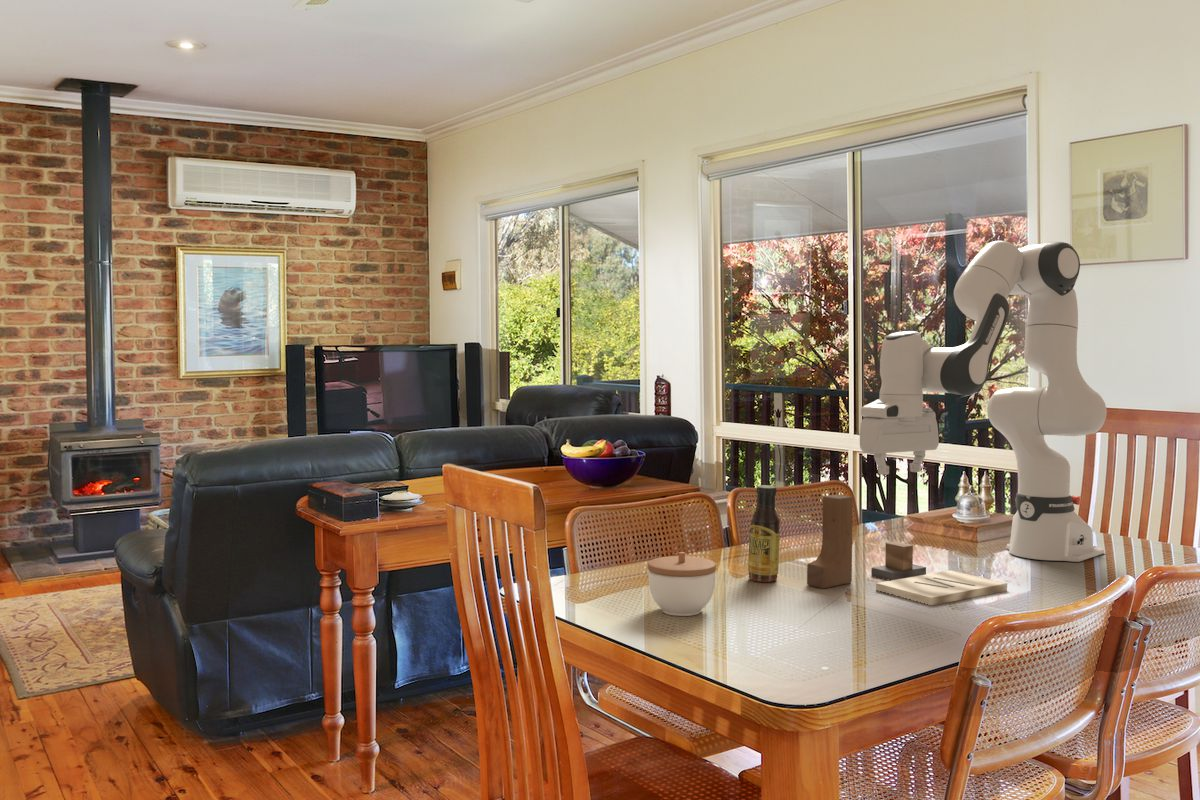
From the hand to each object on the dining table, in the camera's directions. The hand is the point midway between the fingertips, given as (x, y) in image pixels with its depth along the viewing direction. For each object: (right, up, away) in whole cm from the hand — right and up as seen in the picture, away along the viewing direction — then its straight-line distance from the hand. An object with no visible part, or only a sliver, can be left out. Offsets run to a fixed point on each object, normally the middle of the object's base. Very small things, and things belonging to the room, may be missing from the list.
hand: (899, 473), depth 222 cm
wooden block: (-16, -23, -6) cm, 29 cm away
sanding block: (0, -22, +1) cm, 22 cm away
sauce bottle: (-29, -23, -3) cm, 37 cm away
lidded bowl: (-48, -24, -27) cm, 60 cm away
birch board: (+5, -23, -12) cm, 26 cm away
